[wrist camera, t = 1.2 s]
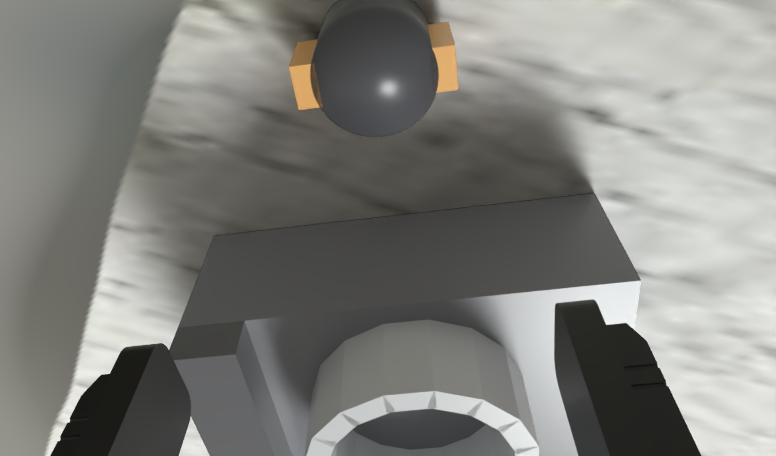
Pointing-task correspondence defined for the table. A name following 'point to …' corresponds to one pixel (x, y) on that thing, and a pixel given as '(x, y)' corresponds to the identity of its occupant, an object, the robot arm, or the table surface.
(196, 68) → the table surface
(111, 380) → the robot arm
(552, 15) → the table surface
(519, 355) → the camera body
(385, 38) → the grey dome
